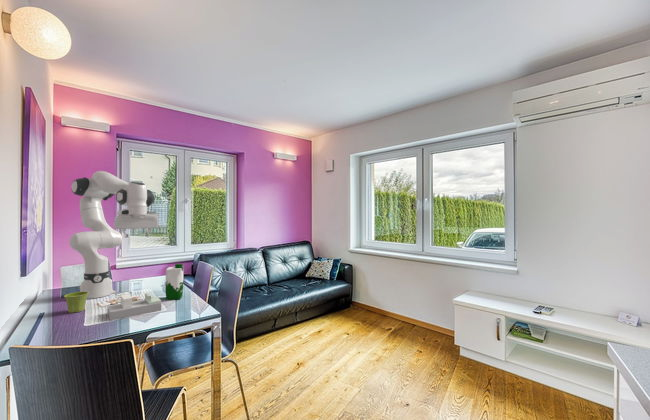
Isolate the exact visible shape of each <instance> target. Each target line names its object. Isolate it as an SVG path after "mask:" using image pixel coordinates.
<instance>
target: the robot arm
mask: <svg viewBox="0 0 650 420" xmlns="http://www.w3.org/2000/svg"><path fill="white" fill-rule="evenodd" d="M71 191H72V194H73V195H76V196H78V197H81V198H80V199H79V213H80V219H81V223H82V225H83V226H84V227H85V228H88V229H91V230H92V231H81V232H76V233H73V234H72V235H70V238H69V246H70V248H71V249H72V250H74V251H76V252H77V253H79V254H80V255H81V257H82V258H83V261H84V274H83V282H81V283H80V285H79V292H89V293H88V295H87V297H86V300H88V299H90V300H91V299H98V298H103V297H107V296H110V295H112V294H115V293H117V291H116V290H114V289H113V280H112V279H111V278H110V271H109V258H108V257H107V256H105V255H103V254H100V253H99V252H98V250H102V249H103V250H104V249H112V248H116V247H119V246H120V245H121V244H122V242H123V235H124V238H125V239H126V238H127V239H128V238H129V234H128V233H126V232H127V230H132V229H133V230H134V229H135V230H137V229H138V230H139V229H140V230H141V229H147V232H146V233H145V234H144V236H145V237H146V238H148V237H150V233H151V231H152V229H158V228H159V226H160V225H159V218H160V214H159V213H158V212H157V211H148V208H149V207H150V206H151V205H153V203H154V202H155V199H156V197H155V195H154V193H153V192H152V190H150V189H147V185H146V183H144V182H138V181H131V182H127V181H125V180H123V179H121V178H119V177H117V176H116V175H114V174H112V173H110V172H108V171H105V170H98V171H95V172H94V173H93V174H92V175H91V177H89V178H87V177H86V176H85V177H82V178H81V177H80V178H76V179H74V180H73V181H72V183H71ZM114 195H115V199H116V202H117V203H118V205H121V206H125V207H126V206H127V208H124V209H120V210H117V211H116V216H115V217H114V222H113V228H112V227H111V226H110V225H109V223H107V221H106V218H105V215H104V209H103V206H102V201H103V200H104V201H107V200H108V199H110V198H112V197H114ZM119 230H121V231H122V233H123V235H122V234H121V233H120V231H119Z"/></svg>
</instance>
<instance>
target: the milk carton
mask: <svg viewBox="0 0 650 420" xmlns="http://www.w3.org/2000/svg"><path fill="white" fill-rule="evenodd" d="M164 290H165V299H166V300H165V301H180V300H181V299H182V297H183V293H184V266H183V263H175V264H174V266H169V267H167V268H166V269H165V289H164Z"/></svg>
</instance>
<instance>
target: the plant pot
mask: <svg viewBox="0 0 650 420" xmlns="http://www.w3.org/2000/svg"><path fill="white" fill-rule="evenodd" d="M88 293H89V292H80V291H76V292H70V293H67V294H65V295H64V296H63V298H64V299H65V301H66V306H67V312H68V313H70V314H74V313H80V312H82V311H84V310H85V309H86V302H87V299H86V297H87V295H88Z"/></svg>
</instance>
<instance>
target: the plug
mask: <svg viewBox="0 0 650 420" xmlns="http://www.w3.org/2000/svg"><path fill="white" fill-rule="evenodd" d="M132 298H133V296H132V295H131V294H122V295H120V304H121V306H122V307H123V309H125V308H130V307H132Z"/></svg>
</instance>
